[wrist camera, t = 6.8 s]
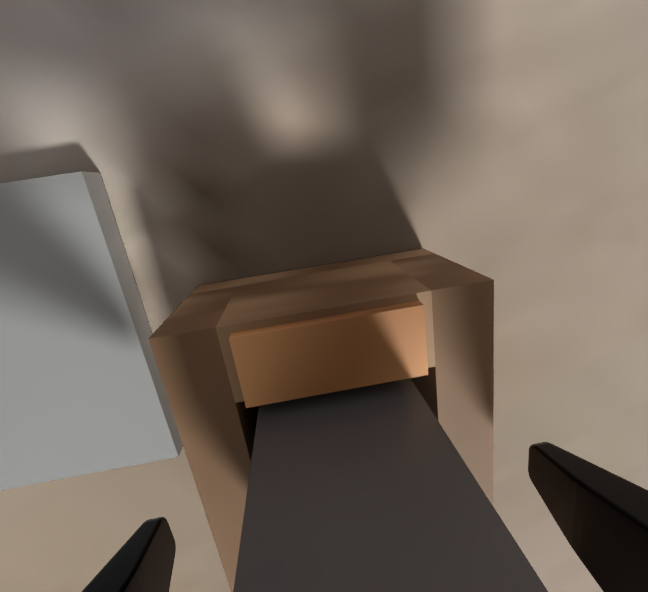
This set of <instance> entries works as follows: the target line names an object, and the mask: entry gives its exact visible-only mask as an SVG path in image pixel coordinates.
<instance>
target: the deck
mask: <svg viewBox="0 0 648 592" xmlns="http://www.w3.org/2000/svg"><path fill="white" fill-rule="evenodd" d="M151 335H152V332H151V328H150V325H149V322H148V319H147V316H146V313H145V310H144V307H143V304H142V301H141V298H140V295H139V291H138V288H137V285H136V282H135V279H134V276H133V273H132V270H131V267H130V264H129V261H128V258H127V254H126V251H125V248H124V245H123V242H122V239H121V236H120V233H119V230H118V227H117V224H116V221H115V217H114V214H113V211H112V208H111V205H110V202H109V199H108V196H107V193H106V190H105V187H104V183H103V180H102V177H101V174H100V173H97V172H85V171H80V172H73V173H66V174H59V175H52V176H46V177H39V178H32V179H25V180H18V181H12V182H5V183H0V490H5V489H10V488H15V487H21V486H26V485H31V484H37V483H42V482H47V481H53V480H58V479H63V478H68V477H74V476H79V475H84V474H90V473H95V472H100V471H106V470H111V469H116V468H122V467H127V466H132V465H138V464H143V463H148V462H154V461H159V460H164V459H170V458H175V457H179V454H180V452H181V449H182V447H183V443H182V440H181V437H180V434H179V431H178V428H177V425H176V422H175V419H174V416H173V413H172V410H171V407H170V404H169V401H168V398H167V395H166V392H165V389H164V386H163V383H162V380H161V377H160V374H159V371H158V367H157V364H156V361H155V358H154V355H153V352H152V349H151V346H150V343H149V340H148V338H149V337H150V336H151Z"/></svg>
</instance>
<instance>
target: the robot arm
mask: <svg viewBox="0 0 648 592" xmlns="http://www.w3.org/2000/svg"><path fill="white" fill-rule="evenodd" d="M528 472H529V476H530V479H531V481H532V483H533V484H534V486H535V488H536V489H537V491H538V493H539V494H540V496H541V497H542V499H543V501H544V502H545V504H546V506H547V507H548V509H549V511H550V512H551V514H552V516H553V517H554V519H555V521H556V522H557V524H558V526H559V527H560V529H561V531H562V532H563V534H564V536H565V537H566V539H567V540H568V542H569V544H570V545H571V547H572V548H573V550H574V551H575V552H576V554H577V555H578V557H579V558H580V559H581V561H582V562H583V564H584V565H585V566H586V568H587V569H588V571H589V572H590V573H591V575H592V576H593V577H594V579H595V580H596V582H597V583H598V584H599V586H600V587H601V589H602V590H603V591H604V592H648V490H646V489H644V488H642V487H640V486H638V485H636V484H634V483H631V482H629V481H627V480H625V479H623V478H621V477H619V476H617V475H615V474H613V473H611V472H609V471H607V470H605V469H603V468H601V467H598V466H596V465H594V464H592V463H590V462H588V461H586V460H584V459H582V458H580V457H578V456H576V455H574V454H572V453H570V452H568V451H565V450H563V449H561V448H559V447H557V446H555V445H553V444H551V443H548V442H542V443H537V444H532V445H531V446H530V448H529V463H528ZM175 549H176V547H175V540H174V538H173V535H172V532H171V530H170V527H169V524H168V522H167V520H166V518H164V517H160V518H154V519H149V520H147V521H145V522H144V523H143V524H142V525H141V526H140V528H139V529H138V530H137V531H136V532H135V533H134V534H133V535H132V536H131V538H130V539H129V540H128V541H127V542H126V543H125V544H124V545H123V546H122V548H121V549H120V550H119V551H118V552H117V553H116V554H115V555H114V556H113V558H112V559H111V560H110V561H109V562H108V563H107V564H106V565H105V566H104V567H103V569H102V570H101V571H100V572H99V573H98V574H97V575H96V576H95V577H94V579H93V580H92V581H91V582H90V583H89V584H88V585H87V586H86V587H85V589H84V590H83V591H82V592H169V587H170V581H171V575H172V569H173V563H174V557H175Z"/></svg>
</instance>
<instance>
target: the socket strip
mask: <svg viewBox="0 0 648 592" xmlns="http://www.w3.org/2000/svg"><path fill="white" fill-rule="evenodd" d="M493 326H494V280H493V279H491V278H488V277H486V276H484V275H482V274H479V273H477V272H475V271H473V270H470V269H468V268H466V267H464V266H461V265H459V264H457V263H455V262H452V261H450V260H448V259H446V258H443V257H441V256H439V255H437V254H434V253H432V252H430V251H428V250H425V249H417V250H411V251H405V252H399V253H393V254H387V255H380V256H374V257H368V258H362V259H356V260H350V261H344V262H338V263H332V264H326V265H320V266H314V267H308V268H302V269H296V270H290V271H283V272H277V273H271V274H265V275H259V276H253V277H247V278H241V279H235V280H229V281H223V282H217V283H211V284H205V285H199V286H197V287H196V288H195V289H194V291H193V292H192V293H191V294H190V295H189V296H188V297H187V298H186V299H185V300H184V301H183V302H182V303H181V304H180V305H179V307H178V308H177V309H176V310H175V311H174V312H173V313H172V314H171V315H170V316H169V317H168V318H167V319H166V320H165V321H164V323H163V324H162V325H161V326H160V327H159V328H158V329H157V330H156V331H155V332H154V333H153V334H152V335H151V336H150V337H149V338H148V340H149V343H150V346H151V349H152V352H153V355H154V358H155V361H156V364H157V367H158V371H159V374H160V377H161V380H162V383H163V386H164V389H165V392H166V395H167V398H168V401H169V404H170V407H171V410H172V413H173V416H174V419H175V422H176V425H177V428H178V431H179V434H180V437H181V440H182V443H183V446H184V449H185V452H186V455H187V458H188V461H189V465H190V468H191V471H192V474H193V477H194V480H195V483H196V486H197V489H198V492H199V495H200V498H201V501H202V504H203V507H204V510H205V513H206V516H207V519H208V522H209V525H210V528H211V531H212V534H213V537H214V540H215V543H216V546H217V549H218V552H219V556H220V559H221V562H222V565H223V568H224V571H225V574H226V577H227V580H228V583H229V586H230V589H231V592H233V590H234V582H235V575H236V568H237V561H238V554H239V546H240V539H241V532H242V525H243V517H244V510H245V503H246V496H247V489H248V481H249V474H250V467H251V460H252V452H253V445H254V438H255V431H256V423H257V416H258V409H259V406H260V405H266V404H271V403H277V402H282V401H288V400H293V399H299V398H304V397H309V396H315V395H320V394H326V393H331V392H337V391H342V390H348V389H353V388H359V387H364V386H370V385H375V384H381V383H386V382H391V381H397V380H402V379H408V378H411V379H412V381H413V383H414V384H415V386H416V387H417V389H418V390H419V392H420V393H421V395H422V397H423V398H424V400H425V401H426V403H427V404H428V406H429V407H430V409H431V411H432V412H433V414H434V415H435V417H436V418H437V420H438V421H439V423H440V425H441V426H442V428H443V429H444V431H445V432H446V434H447V435H448V437H449V439H450V440H451V442H452V443H453V445H454V446H455V448H456V449H457V451H458V453H459V454H460V456H461V457H462V459H463V460H464V462H465V463H466V465H467V467H468V468H469V470H470V471H471V473H472V474H473V476H474V477H475V479H476V481H477V482H478V484H479V485H480V487H481V488H482V490H483V491H484V493H485V495H486V496H487V498H488V499H489V501H490V502H491V504H492V505H493V412H494V368H493Z"/></svg>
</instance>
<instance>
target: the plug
mask: <svg viewBox="0 0 648 592" xmlns="http://www.w3.org/2000/svg"><path fill="white" fill-rule="evenodd" d="M233 592H548V591H547V589H546V588H545V586H544V585H543V583H542V582H541V580H540V579H539V577H538V575H537V574H536V572H535V571H534V569H533V568H532V566H531V565H530V563H529V561H528V560H527V558H526V557H525V555H524V554H523V552H522V551H521V549H520V547H519V546H518V544H517V543H516V541H515V540H514V538H513V537H512V535H511V533H510V532H509V530H508V529H507V527H506V526H505V524H504V523H503V521H502V519H501V518H500V516H499V515H498V513H497V512H496V510H495V509H494V507H493V505H492V504H491V502H490V501H489V499H488V498H487V496H486V495H485V493H484V491H483V490H482V488H481V487H480V485H479V484H478V482H477V481H476V479H475V477H474V476H473V474H472V473H471V471H470V470H469V468H468V467H467V465H466V463H465V462H464V460H463V459H462V457H461V456H460V454H459V453H458V451H457V449H456V448H455V446H454V445H453V443H452V442H451V440H450V439H449V437H448V435H447V434H446V432H445V431H444V429H443V428H442V426H441V425H440V423H439V421H438V420H437V418H436V417H435V415H434V414H433V412H432V411H431V409H430V407H429V406H428V404H427V403H426V401H425V400H424V398H423V397H422V395H421V393H420V392H419V390H418V389H417V387H416V386H415V384H414V383H413V381H412V379H411V378H408V379H402V380H397V381H391V382H386V383H381V384H375V385H370V386H364V387H359V388H353V389H348V390H342V391H337V392H331V393H326V394H320V395H315V396H309V397H304V398H299V399H293V400H288V401H282V402H277V403H271V404H266V405H260V406H259V409H258V416H257V423H256V431H255V438H254V445H253V452H252V460H251V467H250V474H249V481H248V489H247V496H246V503H245V510H244V517H243V525H242V532H241V539H240V546H239V554H238V561H237V568H236V575H235V582H234V590H233Z"/></svg>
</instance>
